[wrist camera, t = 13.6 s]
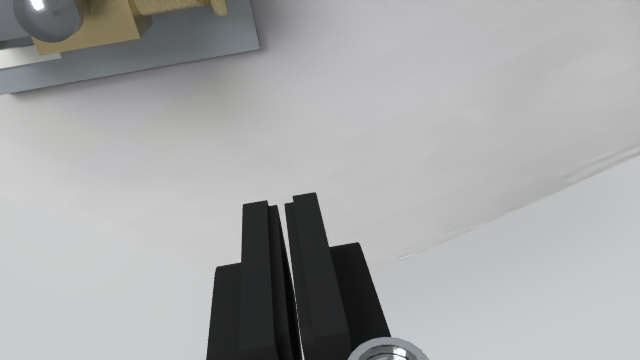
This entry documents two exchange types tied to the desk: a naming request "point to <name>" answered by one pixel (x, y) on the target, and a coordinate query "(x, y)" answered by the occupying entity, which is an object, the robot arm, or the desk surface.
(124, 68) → the base board
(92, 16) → the valve pipe
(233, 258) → the desk surface
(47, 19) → the lever
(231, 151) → the desk surface
